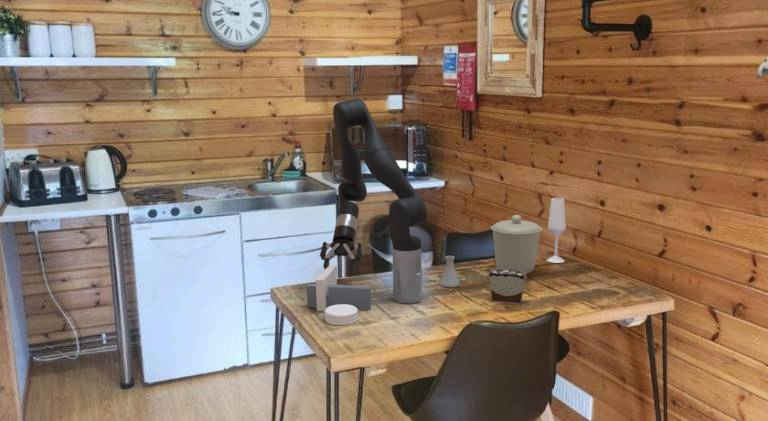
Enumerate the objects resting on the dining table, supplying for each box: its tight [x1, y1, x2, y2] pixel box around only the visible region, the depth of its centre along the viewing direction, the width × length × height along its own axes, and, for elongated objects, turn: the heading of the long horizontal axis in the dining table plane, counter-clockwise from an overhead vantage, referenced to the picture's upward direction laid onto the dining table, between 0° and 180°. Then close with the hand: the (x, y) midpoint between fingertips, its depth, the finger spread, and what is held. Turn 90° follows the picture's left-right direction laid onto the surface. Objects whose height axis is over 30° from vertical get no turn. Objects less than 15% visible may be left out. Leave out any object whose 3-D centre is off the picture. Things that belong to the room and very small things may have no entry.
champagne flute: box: [546, 197, 567, 264], centre depth 267 cm, size 7×7×24 cm
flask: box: [439, 255, 461, 288], centre depth 241 cm, size 7×7×10 cm
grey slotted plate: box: [306, 283, 372, 311], centre depth 221 cm, size 20×2×7 cm, turn 79°
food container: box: [487, 267, 527, 305], centre depth 225 cm, size 12×6×10 cm, turn 71°
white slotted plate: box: [315, 265, 338, 312], centre depth 225 cm, size 16×2×10 cm, turn 169°
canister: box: [490, 214, 543, 275], centre depth 254 cm, size 18×18×21 cm
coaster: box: [324, 304, 359, 326], centre depth 211 cm, size 10×10×4 cm
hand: (338, 270), depth 240 cm, fingers open, 8 cm apart
